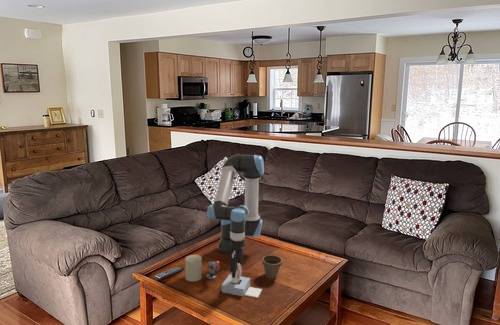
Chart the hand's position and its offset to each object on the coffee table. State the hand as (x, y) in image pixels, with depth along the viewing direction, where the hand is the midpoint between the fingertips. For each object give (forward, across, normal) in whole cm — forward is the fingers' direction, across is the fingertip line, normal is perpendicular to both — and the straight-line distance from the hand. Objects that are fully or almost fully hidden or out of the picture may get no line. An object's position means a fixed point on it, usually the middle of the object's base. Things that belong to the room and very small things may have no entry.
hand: (236, 279), depth 198 cm
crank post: (+5, -7, -17) cm, 19 cm away
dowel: (+5, 0, 0) cm, 5 cm away
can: (+6, -3, -26) cm, 27 cm away
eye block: (+5, 0, 0) cm, 5 cm away
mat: (+5, +1, +10) cm, 11 cm away
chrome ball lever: (-1, -5, -15) cm, 16 cm away
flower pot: (+6, -20, +14) cm, 25 cm away
